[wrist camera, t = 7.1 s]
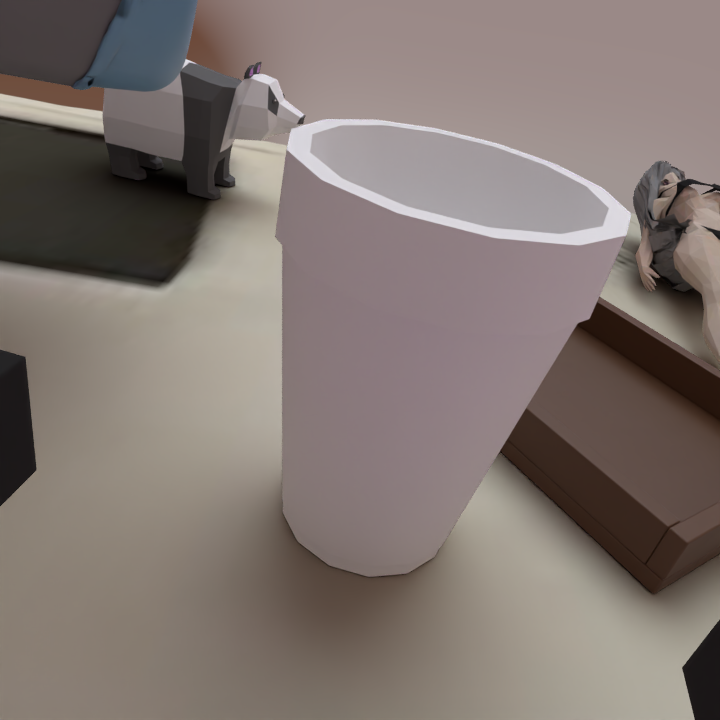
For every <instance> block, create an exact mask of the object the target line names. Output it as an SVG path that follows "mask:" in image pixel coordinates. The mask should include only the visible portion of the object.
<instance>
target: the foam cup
mask: <svg viewBox="0 0 720 720" xmlns="http://www.w3.org/2000/svg"><path fill="white" fill-rule="evenodd" d="M630 217H631V213H630V212H629V211H628V210H626V209H625V208H624V207H623V206H622V205H621V204H620V203H619V202H618V201H617V200H616V199H614V198H613V197H612V196H611V195H610V194H609V193H608V192H607V191H606V190H605V189H604V188H602V187H600V186H598V185H596V184H594V183H592V182H590V181H588V180H586V179H584V178H582V177H580V176H578V175H576V174H574V173H572V172H570V171H568V170H567V169H565V168H563V167H561V166H559V165H557V164H554V163H551V162H549V161H546V160H543V159H540V158H537V157H534V156H532V155H529V154H526V153H523V152H520V151H517V150H515V149H512V148H509V147H506V146H503V145H501V144H498V143H494V142H489V141H486V140H481V139H477V138H473V137H469V136H465V135H461V134H457V133H453V132H449V131H445V130H441V129H437V128H430V127H423V126H416V125H410V124H403V123H396V122H389V121H382V120H354V119H352V120H350V119H347V120H346V119H325V120H321V121H317V122H314V123H310V124H307V125H303V126H300V127H296V128H293V129H291V133H290V137H289V141H288V145H287V150H286V157H285V165H284V173H283V180H282V188H281V196H280V203H279V211H278V219H277V226H276V234H275V237H276V238H277V240H278V241H279V242H280V243H281V244H282V501H283V514H284V516H285V518H286V520H287V522H288V524H289V526H290V528H291V530H292V532H293V534H294V536H295V538H296V539H297V541H298V542H299V543H300V544H301V545H303V546H304V547H305V548H307V549H308V550H309V551H311V552H312V553H313V554H315V555H316V556H317V557H318V558H320V559H321V560H322V561H324V562H325V563H326V564H328V565H329V566H333V567H336V568H340V569H343V570H347V571H350V572H353V573H357V574H360V575H364V576H367V577H374V576H385V575H396V574H407V573H409V572H411V571H412V570H414V569H416V568H417V567H419V566H420V565H422V564H424V563H425V562H427V561H428V560H430V559H432V558H433V557H435V556H436V553H437V551H438V549H439V547H441V546H442V545H443V544H444V542H445V540H446V539H447V537H448V535H449V534H450V532H451V530H452V529H453V527H454V526H455V524H456V522H457V521H458V519H459V517H460V516H461V514H462V512H463V511H464V509H465V508H466V506H467V504H468V503H469V501H470V499H471V498H472V496H473V494H474V493H475V491H476V489H477V488H478V486H479V485H480V483H481V481H482V480H483V478H484V476H485V475H486V473H487V471H488V470H489V468H490V466H491V465H492V463H493V462H494V460H495V458H496V457H497V455H498V453H499V452H500V450H501V448H502V447H503V445H504V443H505V442H506V440H507V439H508V437H509V435H510V434H511V432H512V430H513V429H514V427H515V425H516V424H517V422H518V421H519V419H520V417H521V416H522V414H523V412H524V411H525V409H526V407H527V406H528V404H529V402H530V401H531V399H532V398H533V396H534V394H535V393H536V391H537V389H538V388H539V386H540V384H541V383H542V381H543V379H544V378H545V376H546V375H547V373H548V371H549V370H550V368H551V366H552V365H553V363H554V361H555V360H556V358H557V357H558V355H559V353H560V352H561V350H562V348H563V347H564V345H565V343H566V342H567V340H568V338H569V337H570V335H571V334H572V332H573V330H574V329H575V327H576V325H577V324H578V323H579V322H582V321H585V320H588V319H590V316H591V314H592V312H593V310H594V307H595V305H596V303H597V301H598V298H599V296H600V294H601V292H602V289H603V287H604V285H605V282H606V280H607V278H608V276H609V273H610V271H611V269H612V267H613V264H614V262H615V260H616V258H617V255H618V253H619V251H620V248H621V246H622V244H623V242H624V239H625V237H626V235H627V230H628V226H629V221H630Z"/></svg>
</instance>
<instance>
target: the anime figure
mask: <svg viewBox="0 0 720 720" xmlns="http://www.w3.org/2000/svg"><path fill="white" fill-rule="evenodd" d="M691 184H700V185H708V186H711V187H714V188H713V189H711V190H709V191H707V192H705V193H703V194H701V195H698V192H697V191H696V190H695V189H693V188H692V187H690V186H689V185H691ZM715 190H717V191H720V186H719V185H716V184H713V185H710V184H705V183H701V182H698V181H696V180H693V179H687V180H685V174H684V172H683V171H681V170H679V169H677V168H675V167H672V166H671V164H669V163H667V161H665V162H662V161H659V162H656V163H655V164H654V165H652V166H651V168H650V169H649V170H648V171H646V172H645V173H644V175H643V177H642V178H641V179H640V182H639V183H638V185H637V186H636V188H635V191H634V197H633V204H634V208H635V211H636V214H637V218H638V221H639V224H640V228H641V236H642V239H641V243H640V247H639V249H638V251H637V253H636V255H635V257H636V260H637V264H638V267H639V272H640V276H641V279H642V282H643V284H644V286H645V288H646V289H647V290H648V291H649V290H650V291H651V292H652V289H653V290H655V288H654V286H653V284H654V285H655V286H656V284H655V282H654V280H653V279H652V277H651V276H650V274H651V275H652V276H654V277H656V278H660V276H659V275H658V274H656V273H655V272H654V271H653V270H652V269H651V268H650V267H649V266H650V263H652V265H653V267H654V268H655V269H656V270H657V271H658V272H659V274H660V275H662V276H663V278H664V279H665V280H666V281H667V282H668V283H669V284H670V286H671V287H672V288H673V289H676V290H679V291H683V292H685V291H687V290H689V289H691V288H693V289H696V290H697V291H699V292H700V293H701V294H702V298H703V305H704V317H703V327H702V333H703V336H704V339H705V342H706V344H707V346H708V347H709V349H710V350H711V352H712V353H713V355H714V356H715V358H716V359H717V361H718V362H719V364H720V193H719V192H713V191H715ZM652 283H653V284H652ZM676 283H677V284H679V285H677V284H676ZM651 287H652V288H651Z"/></svg>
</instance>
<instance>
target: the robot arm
mask: <svg viewBox="0 0 720 720" xmlns="http://www.w3.org/2000/svg"><path fill="white" fill-rule="evenodd" d="M196 6H197V0H0V74H5V75H11V76H17V77H23V78H28V79H34V80H39V81H45V82H51V83H57V84H62V85H68V86H71V87H73V88H74V89H80V90H84V89H89V88H91V87H102V88H112V89H122V90H132V91H142V92H148V91H156V90H160V89H162V88H164V87H166V86H168V85H169V84H170V83H172V82H173V81H174V80H175V79H176V78H177V76H178V75H179V73H180V72H181V70H182V67H183V65H184V62H185V59H186V55H187V51H188V47H189V43H190V37H191V33H192V28H193V22H194V17H195V11H196ZM36 470H37V469H36V459H35V449H34V439H33V429H32V419H31V409H30V399H29V389H28V378H27V368H26V358H25V357H24V356H20V355H17V354H13V353H10V352H6V351H3V350H0V506H1V505H2V504H3V503H4V502H5V501H6V500H7V499H8V498H9V497H10V496H11V495H12V494H13V493H14V492H15V491H16V490H17V489H18V488H19V487H20V486H21V485H22V484H23V483H24V482H25V481H26V480H27V479H28V478H29V477H30V476H31V475H32V474H33V473H34V472H35V471H36ZM682 669H683V673H684V677H685V681H686V685H687V689H688V693H689V697H690V701H691V705H692V709H693V714H694V718H695V720H720V620H719V621H718V622H717V624H716V625H715V626H714V628H713V629H712V630H711V631H710V633H709V634H708V635H707V637H706V638H705V639H704V640H703V642H702V643H701V644H700V646H699V647H698V648H697V649H696V651H695V652H694V653H693V655H692V656H691V657H690V658H689V660H688V661H687V662H686V664H685V665H684V666H683V667H682Z"/></svg>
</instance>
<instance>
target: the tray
mask: <svg viewBox="0 0 720 720" xmlns="http://www.w3.org/2000/svg"><path fill="white" fill-rule="evenodd" d="M500 451H501V452H502V453H503V454H504V455H505V456H506V457H507V458H508V459H509V460H510V461H511V462H513V463H514V464H515V465H516V466H517V467H518V468H519V469H520V470H521V471H522V472H523V473H524V474H525V475H526V476H528V477H529V478H530V479H531V480H532V481H533V482H534V483H535V484H536V485H537V486H538V487H539V488H540V489H541V490H542V491H544V492H545V493H546V494H547V495H548V496H549V497H550V498H551V499H552V500H553V501H554V502H555V503H556V504H557V505H559V506H560V507H561V508H562V509H563V510H564V511H565V512H566V513H567V514H568V515H569V516H570V517H571V518H572V519H573V520H575V521H576V522H577V523H578V524H579V525H580V526H581V527H582V528H583V529H584V530H585V531H586V532H587V533H588V534H590V535H591V536H592V537H593V538H594V539H595V540H596V541H597V542H598V543H599V544H600V545H601V546H602V547H603V548H604V549H606V550H607V551H608V552H609V553H610V554H611V555H612V556H613V557H614V558H615V559H616V560H617V561H618V562H619V563H621V564H622V565H623V566H624V567H625V568H626V569H627V570H628V571H629V572H630V573H631V574H632V575H633V576H634V577H635V578H637V579H638V580H639V581H640V582H641V583H642V584H643V585H644V586H645V587H646V588H647V589H648V590H649V591H650V592H652V593H653V594H654V593H657V592H658V591H660V590H661V589H663V588H665V587H666V586H668V585H670V584H671V583H673V582H674V581H676V580H678V579H679V578H681V577H683V576H684V575H686V574H687V573H689V572H691V571H692V570H694V569H696V568H697V567H699V566H700V565H702V564H704V563H705V562H707V561H708V560H710V559H712V558H713V557H715V556H717V555H718V554H720V370H718V369H716V368H715V367H713V366H712V365H710V364H708V363H707V362H705V361H703V360H702V359H700V358H699V357H697V356H695V355H694V354H692V353H690V352H689V351H687V350H685V349H684V348H682V347H681V346H679V345H677V344H676V343H674V342H672V341H671V340H669V339H668V338H666V337H664V336H663V335H661V334H659V333H658V332H656V331H654V330H653V329H651V328H650V327H648V326H646V325H645V324H643V323H641V322H640V321H638V320H637V319H635V318H633V317H632V316H630V315H628V314H627V313H625V312H624V311H622V310H620V309H619V308H617V307H615V306H614V305H612V304H610V303H609V302H607V301H606V300H604V299H602V298H601V297H599V298H598V301H597V303H596V305H595V307H594V310H593V312H592V314H591V316H590V319H588V320H585V321H582V322H579V323H578V324H577V325H576V327H575V329H574V330H573V332H572V334H571V335H570V337H569V338H568V340H567V342H566V343H565V345H564V347H563V348H562V350H561V352H560V353H559V355H558V357H557V358H556V360H555V361H554V363H553V365H552V366H551V368H550V370H549V371H548V373H547V375H546V376H545V378H544V379H543V381H542V383H541V384H540V386H539V388H538V389H537V391H536V393H535V394H534V396H533V398H532V399H531V401H530V402H529V404H528V406H527V407H526V409H525V411H524V412H523V414H522V416H521V417H520V419H519V421H518V422H517V424H516V425H515V427H514V429H513V430H512V432H511V434H510V435H509V437H508V439H507V440H506V442H505V443H504V445H503V447H502V448H501V450H500Z"/></svg>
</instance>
